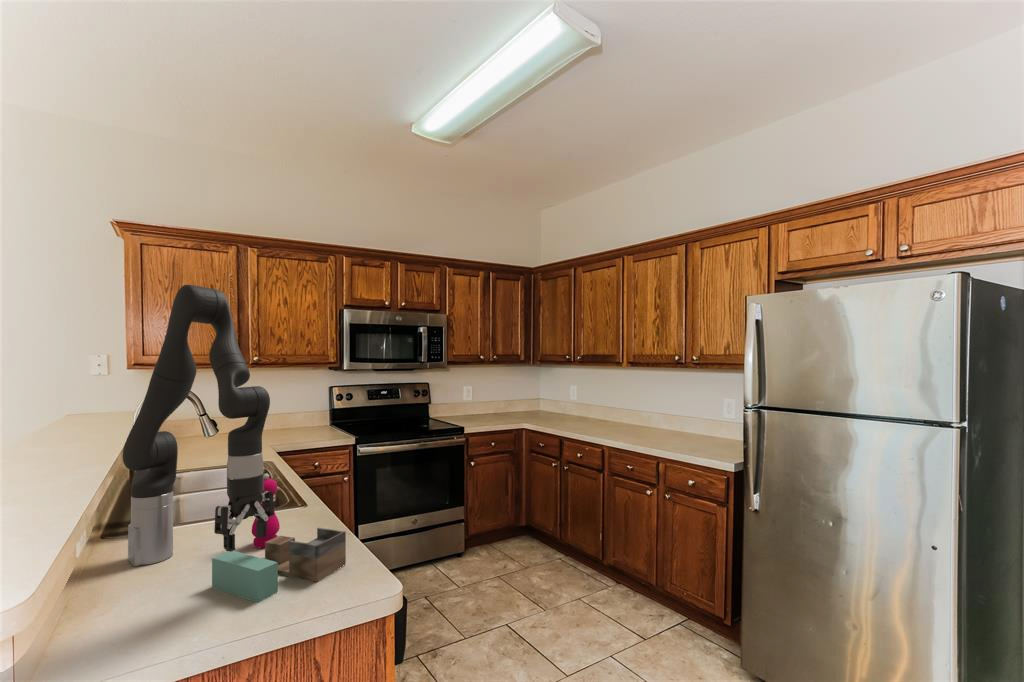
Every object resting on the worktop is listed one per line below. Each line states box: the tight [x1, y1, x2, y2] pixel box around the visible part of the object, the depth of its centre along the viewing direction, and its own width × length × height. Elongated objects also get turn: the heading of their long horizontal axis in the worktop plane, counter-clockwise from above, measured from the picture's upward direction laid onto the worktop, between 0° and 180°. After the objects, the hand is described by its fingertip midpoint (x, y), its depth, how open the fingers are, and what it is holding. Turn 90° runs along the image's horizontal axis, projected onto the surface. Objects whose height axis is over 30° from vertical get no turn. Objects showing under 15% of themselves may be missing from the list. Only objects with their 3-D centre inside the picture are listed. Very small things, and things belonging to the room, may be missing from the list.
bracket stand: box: [262, 527, 347, 583], centre depth 129 cm, size 21×10×8 cm, turn 69°
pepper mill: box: [251, 472, 281, 549], centre depth 145 cm, size 7×7×20 cm
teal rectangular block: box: [211, 550, 279, 603], centre depth 117 cm, size 16×5×7 cm, turn 64°
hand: (246, 543), depth 117 cm, fingers open, 8 cm apart
